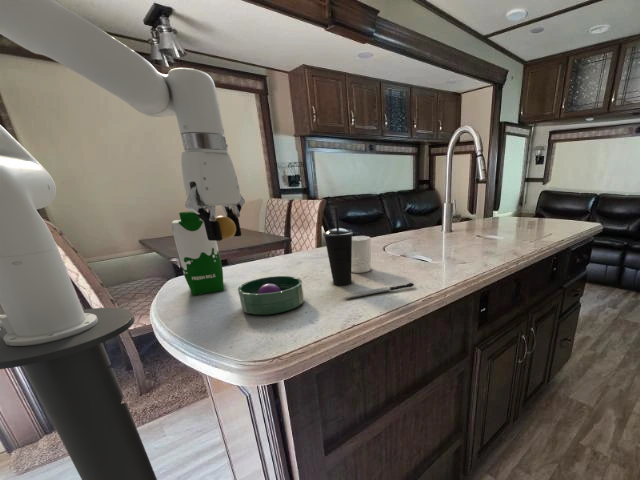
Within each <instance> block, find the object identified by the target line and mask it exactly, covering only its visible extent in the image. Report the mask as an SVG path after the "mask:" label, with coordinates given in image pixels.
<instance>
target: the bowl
mask: <svg viewBox="0 0 640 480" xmlns="http://www.w3.org/2000/svg"><path fill="white" fill-rule="evenodd" d="M265 284H275V285H277V286H278V287H279V288H280V289H281V291H279V292H273V293H264V294H258V290H259V289H260V287H262V286H263V285H265ZM237 292H238V296H239V301H240V306H241V309H242V311H243V312H245V313H246V314H252V315H261V316H265V315H266V316H269V315H275V314H276V315H277V314H281V313H284V312H288V311H291V310H294V309H295V308H297V307H299V306H301V305H302V304H304V302H305V295H304V287H303V281H302V279H301V278H300V277H296V276H289V275H277V276H275V275H274V276H267V277H260V278H255V279H253V280H250V281H246V282H244V283H242V284H241V285H239V286H238V287H237Z"/></svg>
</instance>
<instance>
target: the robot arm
mask: <svg viewBox="0 0 640 480" xmlns="http://www.w3.org/2000/svg"><path fill="white" fill-rule="evenodd" d="M0 35H1V36H3V37H4V38H6V39H8V40H9V41H11V42H13V43H15V44H17V45H18V46H19V47H22V48H23V49H25V50H27V51H29V52H31V53H33V54H35V55H41V56H44V57H47V58H49V59H51V60H53V61H55V62H57V63H58V64H61V65H62V66H64V67H66V68H68V69H70V70H71V71H73V72H75V73H76V74H78V75H80V76H82V77H83V78H85V79H86V80H88V81H90V82H92V83H93V84H95V85H97V86H99V87H100V88H102V89H104V91H105V90H106V91H107V92H109V93H110V94H113V96H116V97H117V98H118V99H121V100H122V101H123V102H125V103H126V104H128V105H129V106H131V108H133V109H134V110H136V111H138V112H139V113H140V114H143V115H144V116H148V117H152V118H164V117H174V116H175V117H176V120H177V125H178V129H179V133H180V138H181V142H182V146H183V150H184V151H183V152H181V156H180V158H181V160H180V161H181V162H180V163H181V164H180V165H181V175H182V181H183V187H184V191H185V196H186V201H185V204H184V206H185V208H186V209H188V210H189V211H190V212H191V211H192V212H194V213H195V214H196V215H197V216H198V217H199V218H200V220H201V221H204V225H205V229H206V233H207V238H208V240H210V241H216V242H220V241H222V240H223V239H222V235H221V231H220V226H219V222H218V221H215V217H216V207H217V206H221V207H222V210H223V211H224V215H225V216H226V217H229V218H230V219H232V220H233V221H234V223H235V225H236V233H235V235H234V236H233V237H241V236H242V231H241V225H240V220H239V219H240V217H241V210H242V207H243V206H244V204H245V203H246V200H245V198H244V196H243V195H242V194H241V191H240V190H241V189H240V184H239V181H238V176H237V172H236V169H235V166H234V163H233V160H232V157H231V155H230V154H229V151H228V143H227V139H226V135H225V129H224V123H223V120H222V115H221V109H220V104H219V99H218V98H219V97H218V93H217V88H216V85H215V82H214V79H213V78H212V77H211V76H210V74H209V73H207V72H205V71H202V70H199V69H196V68H191V67H189V68H188V67H175V68H172V69H170V70H169V71H168V73H167V74H165V73H161V72H160V71H158V70H157V68H156V67H154V65H153V64H152V63H151V62H150V61H148V60H147V59H145V57H144V56H142V55H140V54H139V53H138V52H136V51H135V50H133V49H132V48H130V47H129V46H127V45H126V44H124V43H122V42H121V41H119V40H118V39H116V38H115V37H113V36H112V35H110V34H109V33H107V32H106V31H104V30H103V29H101V28H100V27H98V26H97V25H95V24H94V23H92V22H90V21H89V20H87V19H85V18H84V17H83V16H81V15H79V14H78V13H76V12H74V11H72V10H70V9H68V8H67V7H65V6H63V5H61V4H60V3H58V2H57V1H55V0H0ZM57 190H58V189H57V184H56V182H55V180H54V179H53V177H52V175H51V174H50V172H49V171H48V170H47V169H46V168H45V167H44V166H43V165H42V164H41V163H40V162H39V161H38V160H37V159H36V158H35V157H34V156H33V155H32V154H31V152H29V151H28V150H27V149H26V148H25V147H24V146H23V145H22V144H21V143H20V142H19V141H18V140H17V139H16V138H15V137H14V136H13V135H11V134H10V132H9V131H8V130H6V128H5V127H3V126H2V125H1V124H0V306H1V309H2V311H3V313H4V314H0V329H4V328H5V329H6V331H7V334H6V335H5V336H4V337H3V339H4V341H5V343H6V344H7V345H10V346H29V345H37V344H42V343H47V342H52V341H56V340H60V339H63V338H67V337H70V336H73V335H76V334H79V333H81V332H84V331H86V330H88V329H90V328H91V327H93V326H94V325H96V324H97V322H98V319H97V316H96V315H94V314H89V313H84V311H83V310H84V309H83V307H82V304H81V301H80V300H79V297H78V294H77V292H76V289H75V286H74V285H73V282H72V280H71V277H70V275H69V272H68V270H67V267H66V265H65V261H64V260H63V257H62V255H61V252H60V249H59V248H58V245H57V243H56V241H55V237H54V236H53V234H52V232H51V230H50V228H49V226H48V225H47V223H46V222H45V220H44V219H43V217H42V216H41V215H40V213H39V212H38V210H40V209H44V208H46V207H49V206H50V205H51V204H52V203H53V202H54V201H55V200H56V197H57Z"/></svg>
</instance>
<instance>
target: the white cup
mask: <svg viewBox="0 0 640 480" xmlns="http://www.w3.org/2000/svg"><path fill="white" fill-rule="evenodd" d="M371 261H372V238H371V237H370V236H366V235H354V236H353V235H352V267H351V273H354V274H359V273H360V274H361V273H368V272H370V271H371V267H372V263H371Z"/></svg>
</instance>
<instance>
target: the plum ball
mask: <svg viewBox="0 0 640 480" xmlns="http://www.w3.org/2000/svg"><path fill="white" fill-rule="evenodd" d="M279 291H281V289H280V288H279V287H278V286H277V285H275V284H265V285H263V286H262V287H260V289H259V290H258V294H264V293H273V292H279Z"/></svg>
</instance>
